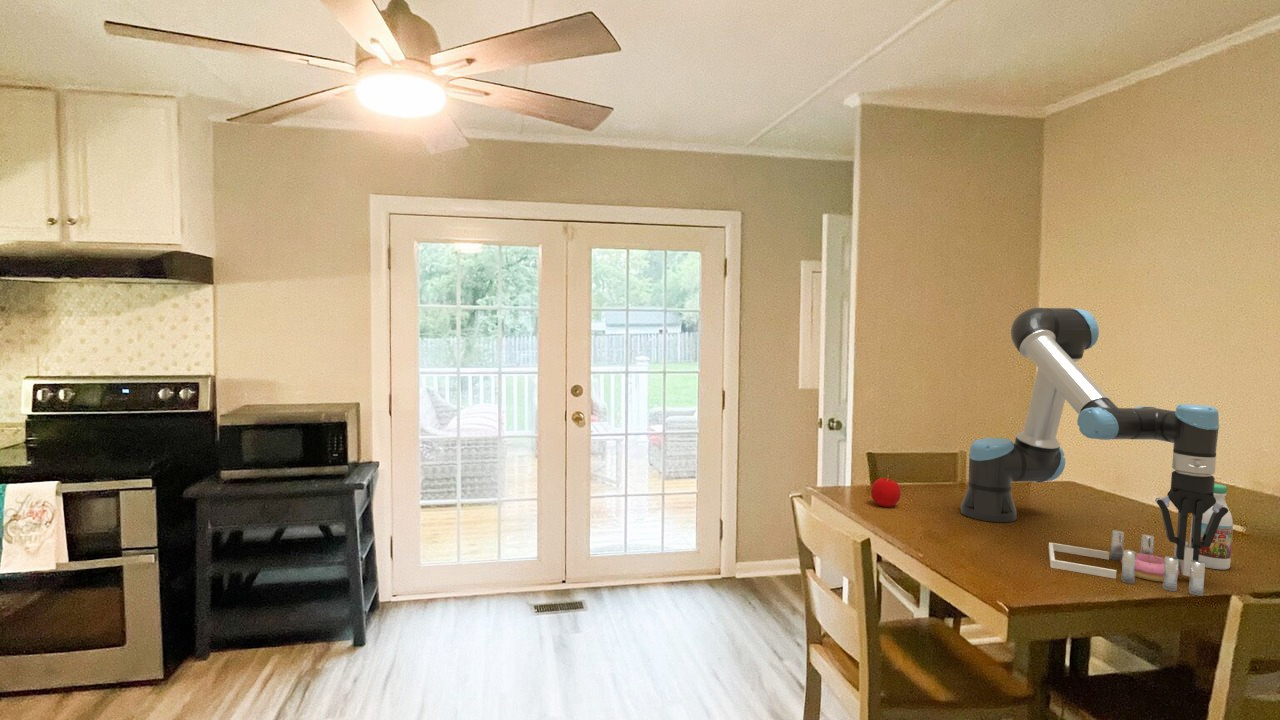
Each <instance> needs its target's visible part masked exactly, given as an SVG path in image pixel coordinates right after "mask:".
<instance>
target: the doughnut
mask: <svg viewBox="0 0 1280 720" xmlns="http://www.w3.org/2000/svg"><path fill="white" fill-rule="evenodd" d="M1164 560H1165V557H1161V556H1158V555H1154V554H1153V555H1149V554H1144V553H1143V554H1141V552H1139V553H1137V552H1136V566H1135V578H1136V577H1137V578H1140V579H1143V580H1148V581H1152V582H1160V583H1163V576H1164ZM1122 561H1123V557H1122V560H1121V561H1120V562H1121V564H1122ZM1180 573H1181V571H1179V568H1178V575H1180ZM1178 578H1179V576H1178V577H1177V579H1178Z"/></svg>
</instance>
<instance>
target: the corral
mask: <svg viewBox="0 0 1280 720" xmlns="http://www.w3.org/2000/svg"><path fill="white" fill-rule="evenodd" d="M1055 552H1058V553H1064V554H1071V555H1078V556H1084V557H1090V558H1096V559H1102V560H1103V559H1104V560H1107V561H1108V560H1110V551H1106V550H1100V549H1094V548H1088V547H1082V546H1081V547H1080V546H1074V545H1069V544H1062V543H1055V542H1048V556H1049V564H1050V568H1052V569H1058V570H1064V571H1070V572H1075V573H1080V574H1081V573H1082V574H1086V575H1091V576H1092V575H1093V576H1099V577H1104V578H1108V579H1117V569H1112V568H1105V567H1102V566H1101V567H1100V566H1094V565H1090V564H1089V565H1087V564H1081V563H1075V562H1070V561H1064V560H1060V559H1059V560H1058V559H1056V557H1055Z"/></svg>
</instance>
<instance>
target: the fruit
mask: <svg viewBox="0 0 1280 720" xmlns="http://www.w3.org/2000/svg"><path fill="white" fill-rule="evenodd" d="M889 476H890V475H889V474H887V478H886V477H881V478H877V479H876V480H875V481H874V482H873V484H872V486H871V489H870V494H871V495H870V496H871V498H872V501H873V502H874V503H875V504H876V505H878V506H879V507H884V508H890V507H891V508H892V507H893V506H895V505H896V504H898V502H899V501H900V499H901V494H902V492H901V487H900V485H899V483H897V482H896V481H895V480H893V479H890V477H889Z"/></svg>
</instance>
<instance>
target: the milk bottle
mask: <svg viewBox="0 0 1280 720" xmlns="http://www.w3.org/2000/svg"><path fill="white" fill-rule="evenodd" d="M1227 493H1228V488H1227V486H1226V485H1223V484H1220V483H1214V497H1215V499H1216V502H1217V503H1219V504H1220V505H1223V506H1225V507H1226V508H1227V509H1228V513H1227V514H1225V515H1224V516H1223V517H1222V519H1221V521H1220V524H1219V526H1218V528H1217V531H1216V533H1215V536H1214V538H1213V541H1212V543H1211V546H1210V547H1202V548H1201V549H1199V560H1198V561H1201V562H1204V563H1205V568H1208V569H1212V570H1213V569H1214V570H1221V571H1222V570H1223V571H1224V570H1228V569H1229V568H1230V567H1231V560H1232V547H1233V546H1232V545H1233V531H1234V530H1233V529H1234V528H1233V525H1234V521H1233V515H1232V513H1231V511H1230V509H1229V507H1228V504H1227V502H1226V496H1227ZM1212 508H1213V506H1212V507H1211V508H1210V509H1208V510H1207V511H1206V512H1205V513H1203V518H1202V525H1201V540H1202V538H1203V535H1204V533H1205V530H1206V528H1207V525H1208V523H1209V520H1210V518H1211V515H1212V513H1213V510H1212ZM1192 518H1193V516H1192V517H1191V519H1192ZM1190 522H1191V523H1190V536H1189V537H1190V538H1189V545H1191V533H1192V521H1190Z"/></svg>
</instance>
